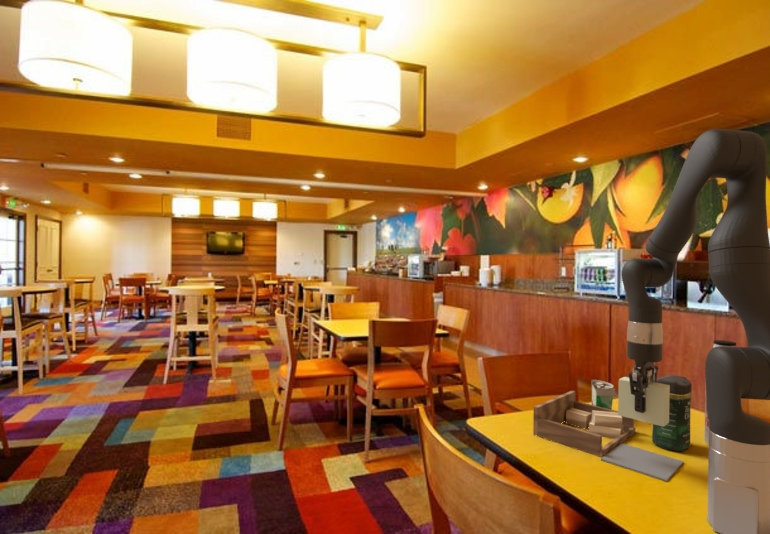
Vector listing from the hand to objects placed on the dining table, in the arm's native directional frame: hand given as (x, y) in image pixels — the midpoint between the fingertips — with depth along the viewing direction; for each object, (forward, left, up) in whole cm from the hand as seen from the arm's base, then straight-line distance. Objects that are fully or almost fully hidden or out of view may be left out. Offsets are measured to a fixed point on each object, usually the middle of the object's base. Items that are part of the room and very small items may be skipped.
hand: (643, 409), depth 106 cm
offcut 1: (+13, +21, -13) cm, 28 cm away
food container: (+27, +19, -13) cm, 35 cm away
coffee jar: (+17, -2, -13) cm, 21 cm away
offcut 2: (+12, +13, -10) cm, 20 cm away
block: (0, 0, -2) cm, 2 cm away
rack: (+7, +17, -13) cm, 22 cm away
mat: (0, 0, -13) cm, 13 cm away
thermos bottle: (+29, -11, -13) cm, 34 cm away
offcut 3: (+12, +13, -13) cm, 22 cm away
